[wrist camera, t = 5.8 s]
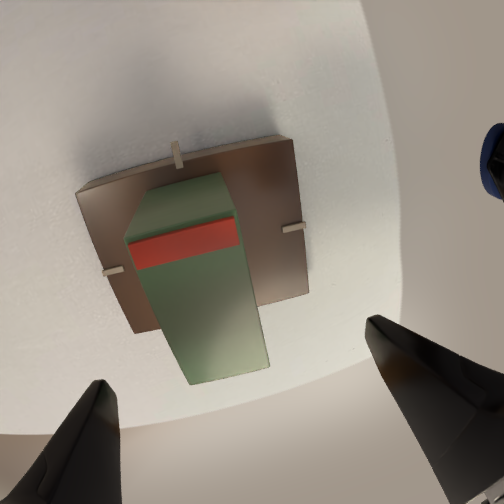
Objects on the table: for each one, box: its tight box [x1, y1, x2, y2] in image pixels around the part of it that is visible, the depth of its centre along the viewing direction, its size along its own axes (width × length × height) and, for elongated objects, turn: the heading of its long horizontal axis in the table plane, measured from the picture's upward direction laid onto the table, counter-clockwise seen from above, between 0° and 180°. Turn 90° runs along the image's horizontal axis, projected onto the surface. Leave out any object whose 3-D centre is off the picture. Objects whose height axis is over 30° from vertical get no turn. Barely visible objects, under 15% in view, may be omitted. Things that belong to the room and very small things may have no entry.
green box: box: [124, 172, 270, 385], centre depth 14 cm, size 8×4×6 cm, turn 10°
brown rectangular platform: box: [75, 135, 309, 334], centre depth 18 cm, size 12×12×3 cm
